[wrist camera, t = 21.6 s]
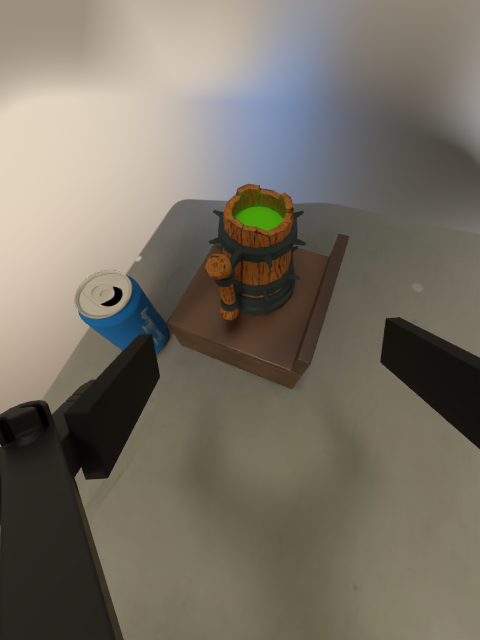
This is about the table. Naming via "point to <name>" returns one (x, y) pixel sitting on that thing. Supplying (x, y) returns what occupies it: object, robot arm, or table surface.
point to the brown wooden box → (262, 320)
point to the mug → (255, 252)
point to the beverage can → (119, 309)
